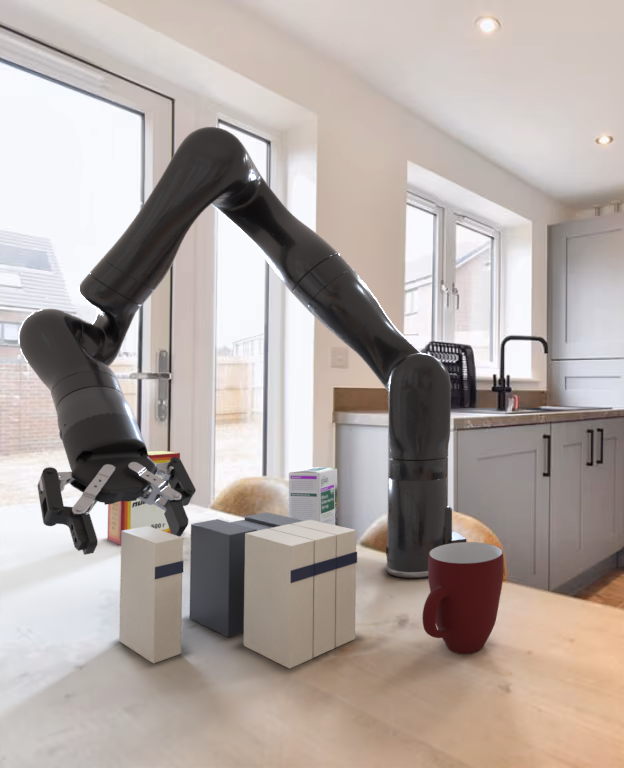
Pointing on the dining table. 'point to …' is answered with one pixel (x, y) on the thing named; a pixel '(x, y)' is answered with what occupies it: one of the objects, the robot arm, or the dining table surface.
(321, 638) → the white books
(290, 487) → the syrup box
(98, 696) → the dining table surface
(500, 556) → the mug
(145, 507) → the baking soda box
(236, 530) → the grey books
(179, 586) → the white book
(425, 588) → the dining table surface
